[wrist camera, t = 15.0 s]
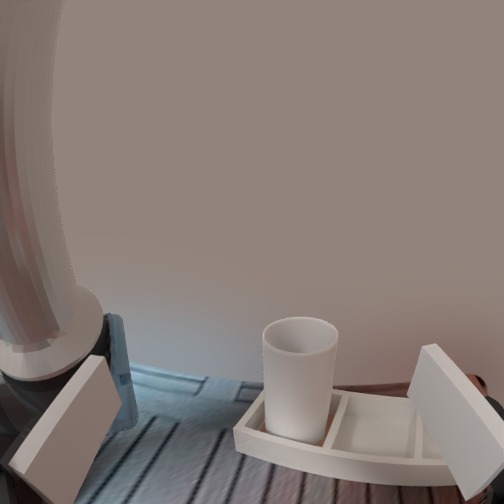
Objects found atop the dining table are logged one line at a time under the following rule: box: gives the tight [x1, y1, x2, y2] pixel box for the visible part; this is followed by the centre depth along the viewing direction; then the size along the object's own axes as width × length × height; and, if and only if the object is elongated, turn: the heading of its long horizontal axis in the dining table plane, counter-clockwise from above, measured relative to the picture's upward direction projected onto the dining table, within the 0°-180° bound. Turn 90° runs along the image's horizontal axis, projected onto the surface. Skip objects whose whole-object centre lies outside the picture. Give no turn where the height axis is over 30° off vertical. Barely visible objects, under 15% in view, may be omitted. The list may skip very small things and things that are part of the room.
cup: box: [262, 317, 338, 446], centre depth 31 cm, size 8×8×16 cm
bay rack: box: [233, 389, 457, 486], centre depth 28 cm, size 34×12×5 cm, turn 63°
